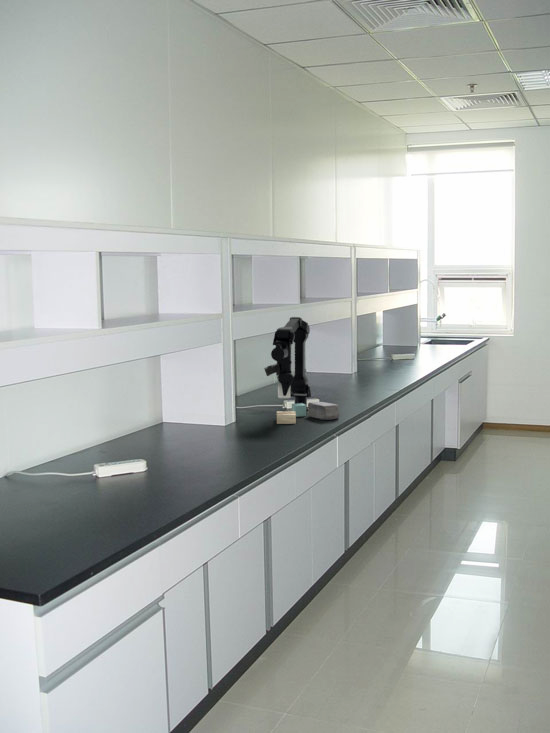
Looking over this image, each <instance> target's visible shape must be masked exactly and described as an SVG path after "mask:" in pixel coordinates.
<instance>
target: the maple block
mask: <svg viewBox="0 0 550 733" xmlns="http://www.w3.org/2000/svg"><path fill="white" fill-rule="evenodd" d="M296 420H297V417H296V413H295V411H292V410H286V411H282V410H281V411H280V410H279V411H276V424H277V425H278V424H284V425H285V424H286V425H287V424H289V425H290V424H291V425H292V424H295V425H296V423H297V422H296Z"/></svg>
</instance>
